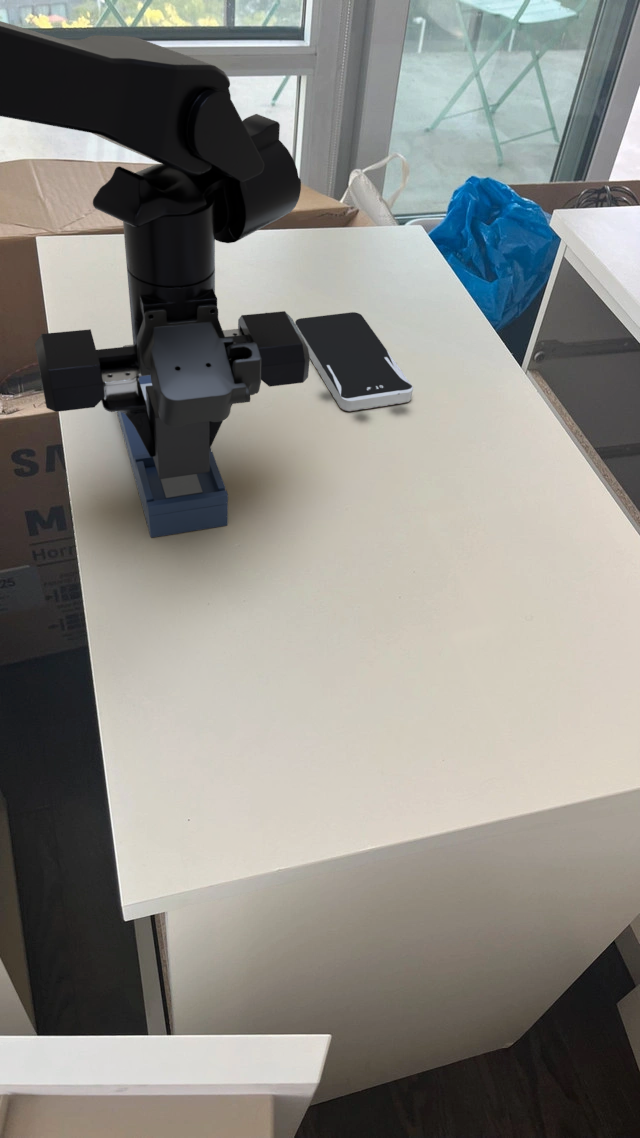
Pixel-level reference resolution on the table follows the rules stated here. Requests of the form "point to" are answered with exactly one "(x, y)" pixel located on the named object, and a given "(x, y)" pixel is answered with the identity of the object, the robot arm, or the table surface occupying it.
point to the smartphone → (353, 362)
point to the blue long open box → (174, 489)
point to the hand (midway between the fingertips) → (178, 449)
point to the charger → (178, 444)
